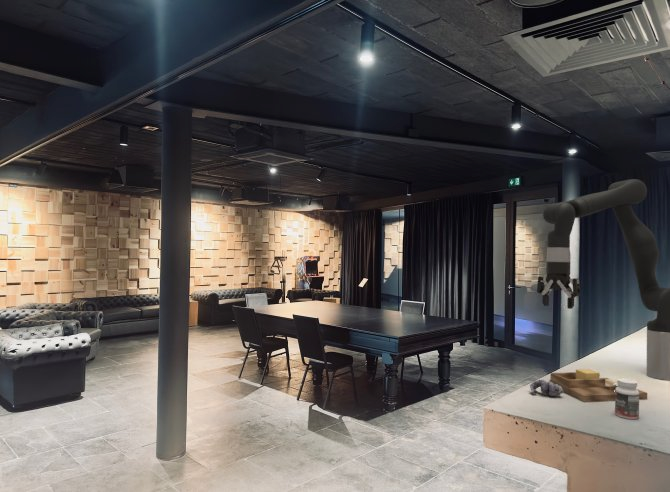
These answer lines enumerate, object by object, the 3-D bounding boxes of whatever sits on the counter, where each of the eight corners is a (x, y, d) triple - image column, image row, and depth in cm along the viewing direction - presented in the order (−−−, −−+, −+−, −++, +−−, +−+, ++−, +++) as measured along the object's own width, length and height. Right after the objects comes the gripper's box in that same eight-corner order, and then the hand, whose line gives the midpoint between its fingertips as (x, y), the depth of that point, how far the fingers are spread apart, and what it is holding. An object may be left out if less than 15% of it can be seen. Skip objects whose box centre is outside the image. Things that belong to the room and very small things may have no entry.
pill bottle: (610, 412, 131) (610, 377, 131) (628, 412, 131) (629, 377, 132) (624, 419, 125) (624, 383, 125) (644, 419, 126) (644, 383, 126)
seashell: (529, 397, 148) (563, 402, 144) (530, 387, 145) (565, 392, 141) (529, 384, 152) (563, 388, 148) (530, 373, 148) (564, 378, 145)
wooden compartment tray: (606, 383, 160) (606, 377, 160) (647, 399, 143) (647, 392, 143) (549, 385, 156) (549, 379, 156) (584, 402, 140) (584, 395, 140)
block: (588, 380, 156) (588, 369, 156) (599, 385, 151) (599, 372, 151) (575, 381, 155) (575, 369, 155) (585, 385, 150) (586, 373, 150)
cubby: (586, 379, 158) (586, 371, 158) (605, 386, 149) (605, 379, 149) (550, 380, 156) (550, 373, 156) (568, 388, 147) (568, 380, 147)
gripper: (584, 261, 155) (584, 308, 155) (545, 260, 167) (544, 304, 167) (573, 261, 151) (572, 310, 151) (533, 260, 163) (532, 305, 163)
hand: (557, 307), depth 159 cm, fingers open, 8 cm apart
